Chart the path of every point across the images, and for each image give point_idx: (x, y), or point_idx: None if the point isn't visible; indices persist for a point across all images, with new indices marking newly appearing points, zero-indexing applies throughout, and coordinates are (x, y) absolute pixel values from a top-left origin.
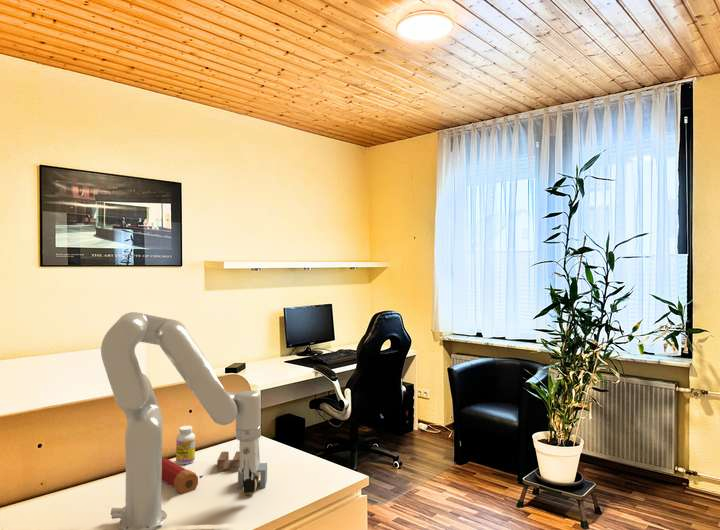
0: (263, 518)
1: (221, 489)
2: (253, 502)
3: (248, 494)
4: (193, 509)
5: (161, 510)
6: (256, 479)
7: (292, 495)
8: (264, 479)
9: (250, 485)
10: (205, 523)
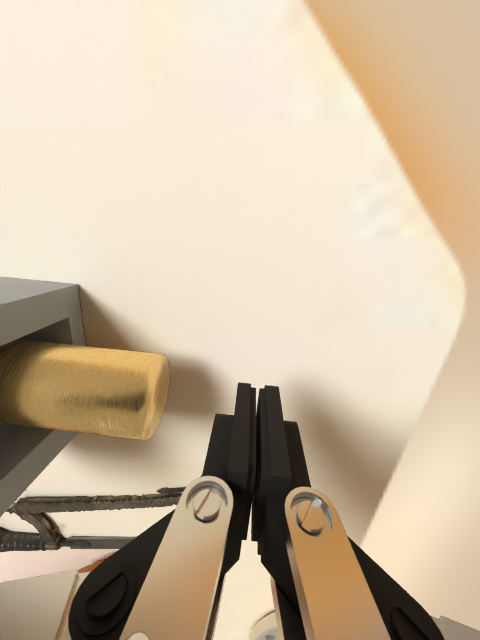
0: (417, 287)
1: (79, 472)
2: (216, 343)
3: (166, 380)
4: (249, 546)
5: (271, 632)
6: (37, 365)
7: (134, 83)
8: (16, 306)
9: (302, 459)
10: (375, 512)
